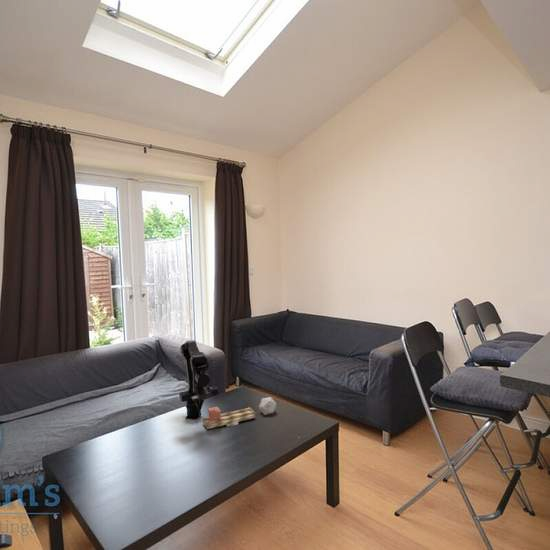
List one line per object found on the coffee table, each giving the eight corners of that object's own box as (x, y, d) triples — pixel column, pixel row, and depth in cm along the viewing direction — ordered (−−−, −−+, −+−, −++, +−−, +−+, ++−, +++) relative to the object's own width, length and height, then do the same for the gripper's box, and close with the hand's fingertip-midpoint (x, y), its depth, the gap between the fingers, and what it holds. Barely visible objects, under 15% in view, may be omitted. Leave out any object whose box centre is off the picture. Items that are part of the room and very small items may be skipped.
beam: (208, 431, 176) (207, 424, 176) (202, 423, 185) (202, 416, 185) (256, 420, 188) (256, 412, 188) (248, 412, 197) (248, 405, 197)
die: (255, 414, 196) (260, 404, 190) (260, 401, 203) (264, 391, 197) (270, 420, 196) (275, 410, 190) (274, 406, 203) (279, 396, 197)
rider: (211, 423, 179) (211, 413, 179) (208, 418, 184) (207, 408, 184) (221, 421, 181) (220, 411, 181) (217, 416, 187) (217, 406, 186)
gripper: (183, 388, 167) (184, 421, 168) (222, 381, 175) (222, 412, 176) (178, 380, 177) (179, 411, 178) (215, 374, 185) (215, 404, 186)
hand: (199, 410), depth 179 cm, fingers closed
